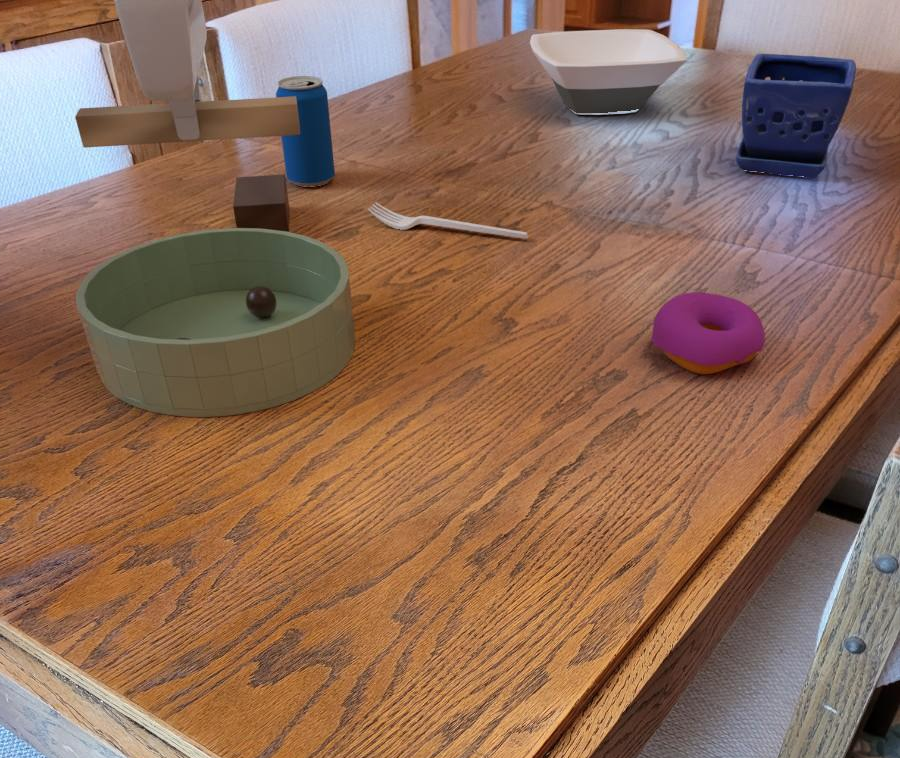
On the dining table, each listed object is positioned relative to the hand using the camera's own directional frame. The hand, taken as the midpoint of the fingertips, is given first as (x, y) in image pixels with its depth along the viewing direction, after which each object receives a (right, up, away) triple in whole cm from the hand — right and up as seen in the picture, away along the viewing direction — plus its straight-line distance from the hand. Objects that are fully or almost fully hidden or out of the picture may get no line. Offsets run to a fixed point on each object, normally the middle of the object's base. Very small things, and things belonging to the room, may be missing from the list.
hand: (191, 130), depth 76 cm
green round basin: (0, -15, +11) cm, 19 cm away
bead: (+3, -10, +14) cm, 17 cm away
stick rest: (-1, +7, +35) cm, 35 cm away
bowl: (+46, +40, +69) cm, 92 cm away
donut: (+46, -16, +10) cm, 50 cm away
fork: (+22, +5, +32) cm, 39 cm away
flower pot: (+67, +20, +47) cm, 85 cm away
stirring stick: (0, 0, 0) cm, 1 cm away
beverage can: (+3, +17, +45) cm, 49 cm away
